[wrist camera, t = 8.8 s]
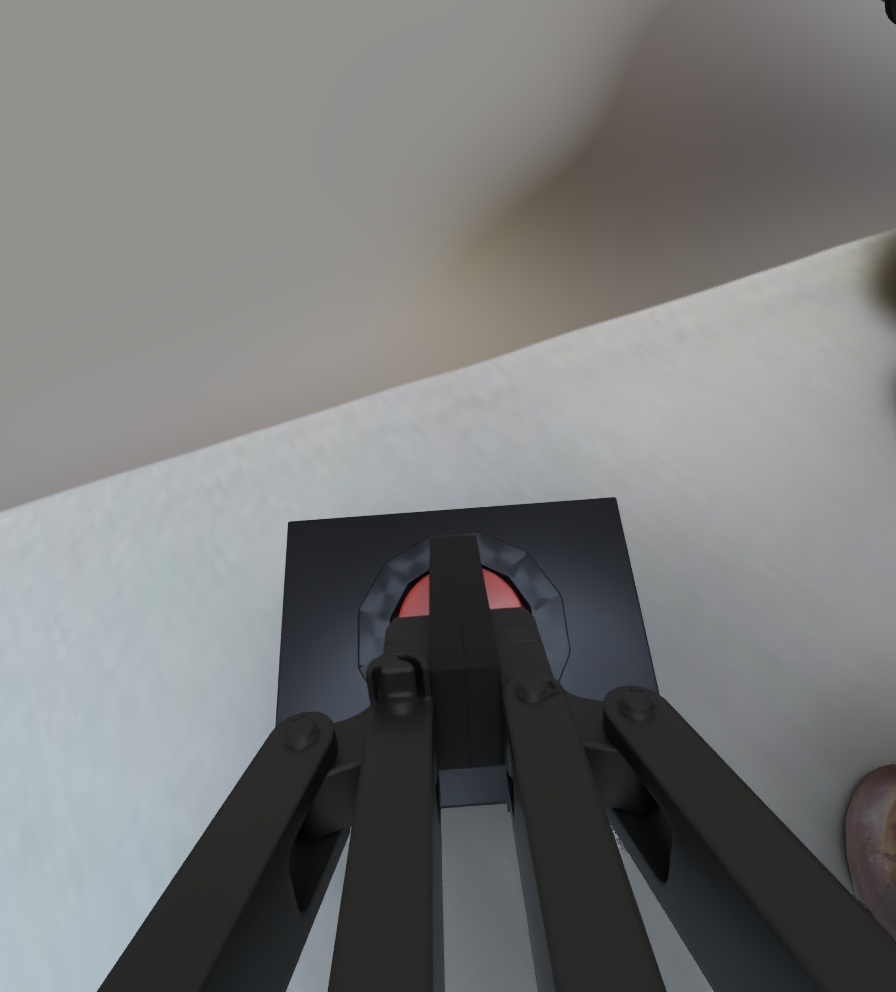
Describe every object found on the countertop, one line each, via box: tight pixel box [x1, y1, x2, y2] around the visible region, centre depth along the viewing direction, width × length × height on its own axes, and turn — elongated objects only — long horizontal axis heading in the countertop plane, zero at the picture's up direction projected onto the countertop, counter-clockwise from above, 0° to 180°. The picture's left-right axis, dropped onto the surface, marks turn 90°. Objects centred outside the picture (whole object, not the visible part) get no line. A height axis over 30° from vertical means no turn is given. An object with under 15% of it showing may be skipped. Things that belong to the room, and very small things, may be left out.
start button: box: [399, 568, 523, 617], centre depth 19 cm, size 4×4×2 cm
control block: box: [275, 497, 659, 808], centre depth 22 cm, size 14×11×8 cm
